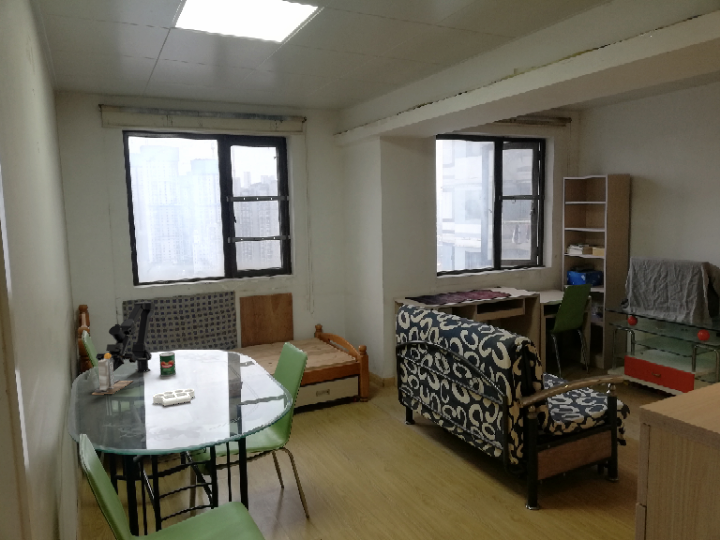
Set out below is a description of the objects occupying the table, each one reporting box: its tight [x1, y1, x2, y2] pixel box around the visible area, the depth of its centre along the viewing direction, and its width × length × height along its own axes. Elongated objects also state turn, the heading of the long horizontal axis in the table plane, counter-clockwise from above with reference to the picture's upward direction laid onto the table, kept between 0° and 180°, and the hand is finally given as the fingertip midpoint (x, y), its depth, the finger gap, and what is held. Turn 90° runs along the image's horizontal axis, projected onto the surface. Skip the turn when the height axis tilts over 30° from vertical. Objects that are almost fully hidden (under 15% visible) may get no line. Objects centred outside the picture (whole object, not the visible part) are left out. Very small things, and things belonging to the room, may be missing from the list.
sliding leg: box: [103, 352, 115, 387], centre depth 257 cm, size 4×6×17 cm
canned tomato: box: [158, 351, 177, 377], centre depth 284 cm, size 8×8×11 cm
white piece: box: [152, 388, 195, 407], centre depth 240 cm, size 3×18×15 cm
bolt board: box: [91, 360, 134, 396], centre depth 260 cm, size 20×10×16 cm, turn 177°
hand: (110, 372), depth 259 cm, fingers closed, pressing on sliding leg
